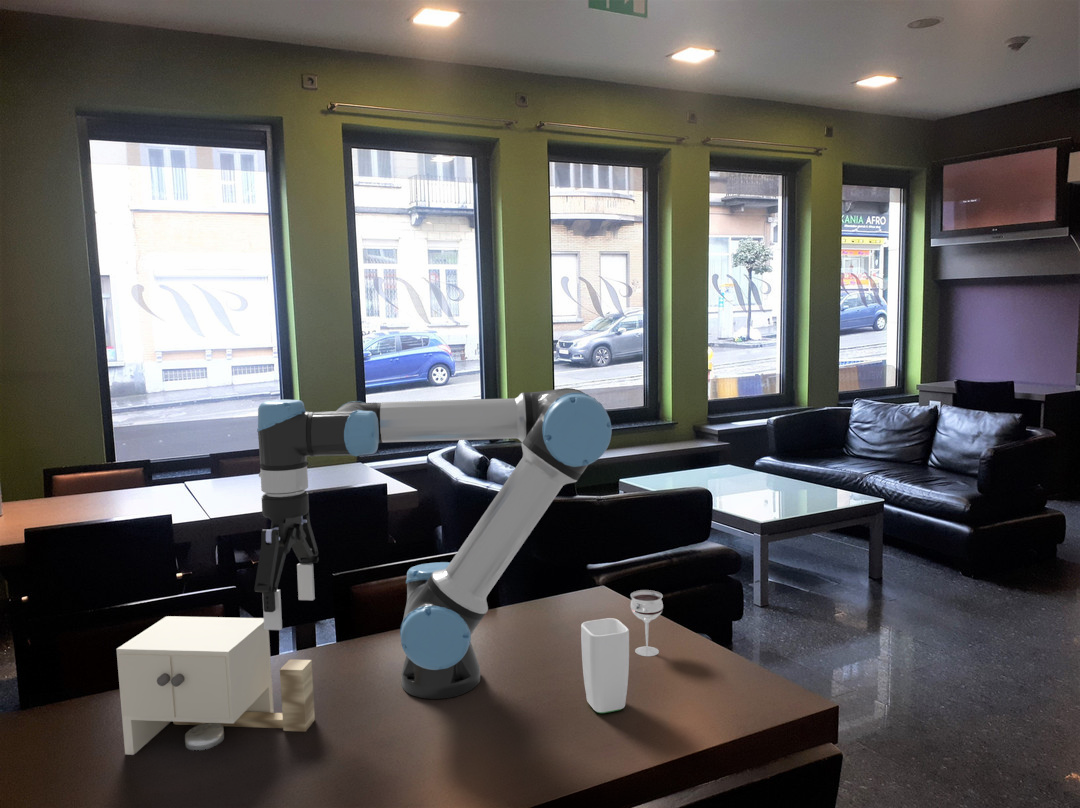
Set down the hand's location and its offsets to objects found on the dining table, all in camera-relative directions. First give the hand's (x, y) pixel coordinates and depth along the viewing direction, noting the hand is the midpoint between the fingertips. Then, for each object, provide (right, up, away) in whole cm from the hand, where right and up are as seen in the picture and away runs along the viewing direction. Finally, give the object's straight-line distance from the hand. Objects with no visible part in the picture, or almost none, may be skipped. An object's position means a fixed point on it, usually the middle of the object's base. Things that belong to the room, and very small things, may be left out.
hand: (290, 613), depth 135 cm
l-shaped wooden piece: (-9, -20, +3) cm, 22 cm away
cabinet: (-15, -21, 0) cm, 26 cm away
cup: (+55, -19, +6) cm, 58 cm away
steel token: (-14, -21, -2) cm, 25 cm away
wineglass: (+65, -16, +29) cm, 73 cm away
